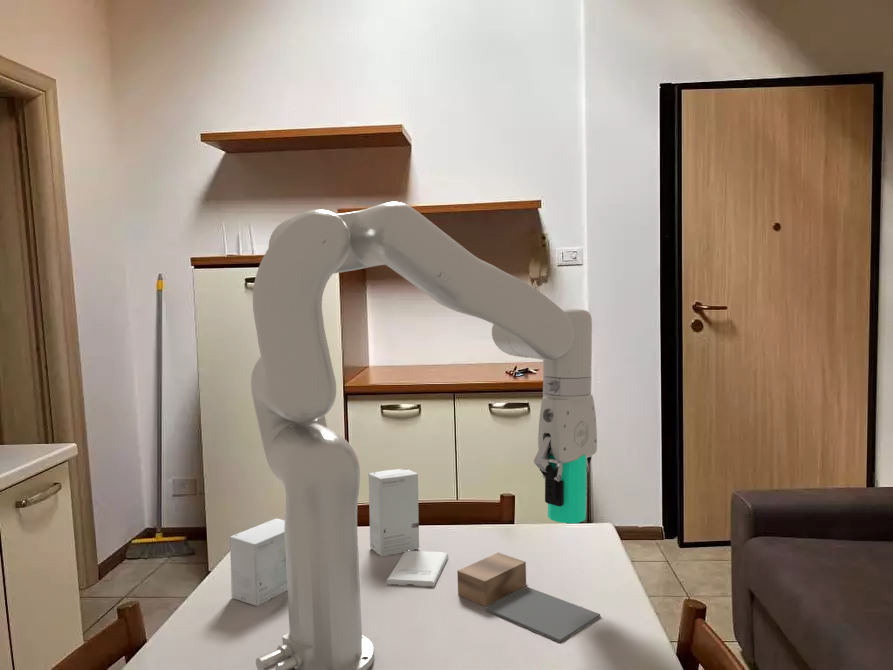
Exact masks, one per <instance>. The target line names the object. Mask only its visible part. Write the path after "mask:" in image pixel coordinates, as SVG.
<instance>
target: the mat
mask: <svg viewBox="0 0 893 670" xmlns="http://www.w3.org/2000/svg"><path fill="white" fill-rule="evenodd" d="M485 611H486V612H488V613H491V614H493V615H495V616H497V617H499V618H502V619H505V620H506V621H509V622H511V623H514V624H516V625H519V626H521V627H523V628H526V629H528V630H530V631H533V632H535V633H537V634H538V635H541V636H543V637H546V638H548V639H552V640H554V641H556V642H557V643H562V642H563V641H565V640H567V639H568V638H569V637H571V636H573V635H574V634H576V633H577V632H579V631H580V630H582V629H584V628H585V627H587V626H588V625H590V624H591V623H593V622H594V621H596V620H598V619H599V618H601V613H598V612H595V611H592V610H590V609H588V608H585V607H583V606H580V605H577V604H574V603H572V602H569V601H568V600H567V601H566V600H564V599H561V598H558V597H556V596H553V595H550V594H547V593H544V592H542V591H540V590H537V589H534V588H531V587H529V586H525V587H523V588H521V589H519V590H517V591H515V592H513V593H511V594H509V596H508V595H507V597H506V596H505V597H503V598H501V599H499V600H498V601H496V602H494V603H493V604H490V605H488V606H486V607H485Z"/></svg>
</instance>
